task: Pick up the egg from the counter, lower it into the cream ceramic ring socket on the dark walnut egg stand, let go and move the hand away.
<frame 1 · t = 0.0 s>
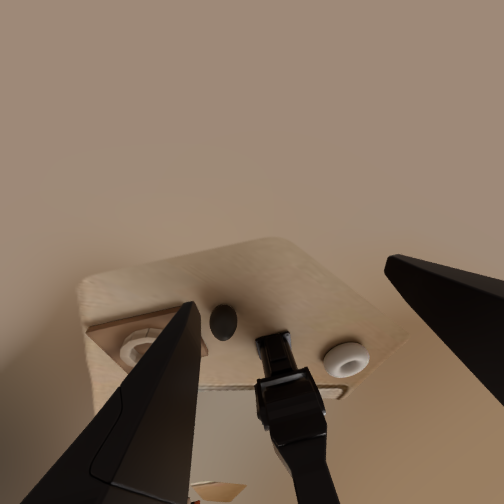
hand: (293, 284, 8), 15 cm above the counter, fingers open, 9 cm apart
bottle: (164, 500, 86), on the counter
egg stand: (155, 339, 30), on the counter
donut: (341, 352, 42), on the counter
egg: (223, 309, 29), on the counter
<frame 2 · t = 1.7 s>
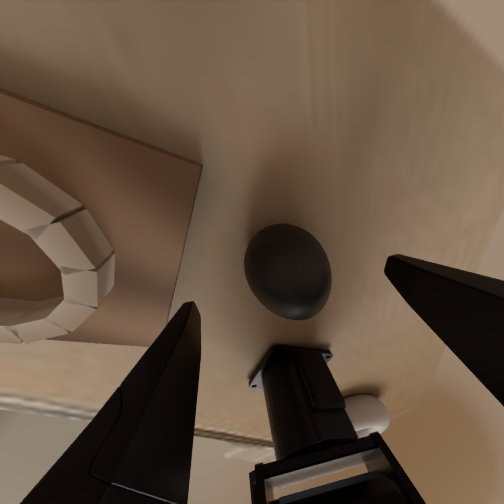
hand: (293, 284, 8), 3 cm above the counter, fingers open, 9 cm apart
egg stand: (25, 240, 9), on the counter
donut: (344, 404, 28), on the counter
egg: (273, 245, 11), on the counter
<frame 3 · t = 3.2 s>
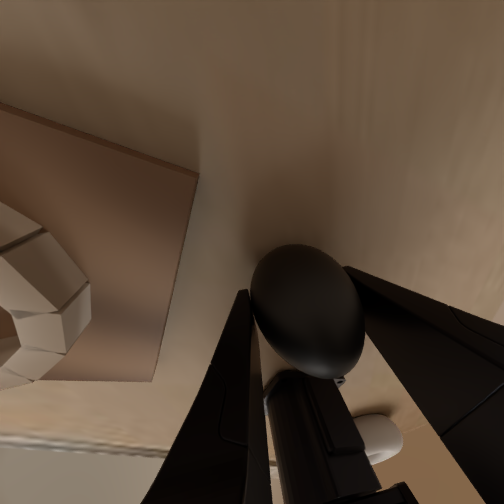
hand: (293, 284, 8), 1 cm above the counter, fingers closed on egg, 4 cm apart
donut: (353, 423, 26), on the counter
egg: (284, 266, 10), on the counter, touching gripper
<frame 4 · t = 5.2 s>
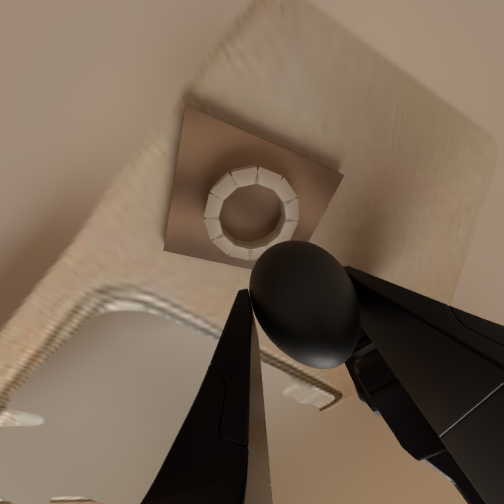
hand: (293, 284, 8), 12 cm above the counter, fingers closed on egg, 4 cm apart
egg stand: (249, 210, 18), on the counter
egg: (282, 263, 10), point 10 cm above the counter, touching gripper
when the fingers open (3 cm above the counter, at t = 7.5 s): egg stays where it is, resting on egg stand.
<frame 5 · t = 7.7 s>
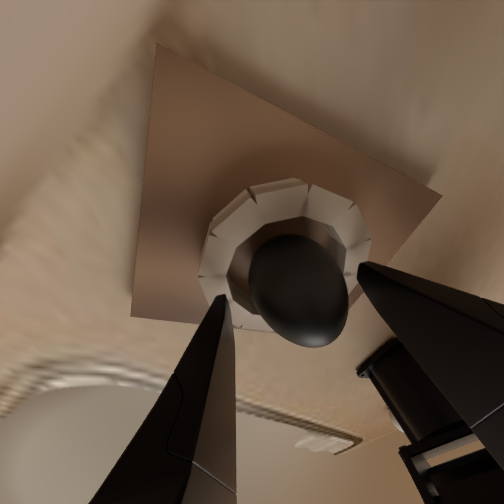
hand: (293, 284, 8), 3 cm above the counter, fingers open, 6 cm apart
egg stand: (274, 249, 11), on the counter
egg: (279, 256, 10), point 1 cm above the counter, touching egg stand
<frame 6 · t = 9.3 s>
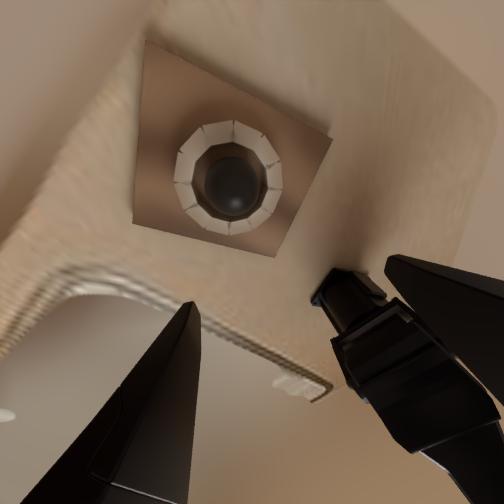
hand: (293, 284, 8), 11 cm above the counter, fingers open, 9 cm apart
egg stand: (229, 180, 16), on the counter
egg: (230, 181, 16), point 1 cm above the counter, touching egg stand
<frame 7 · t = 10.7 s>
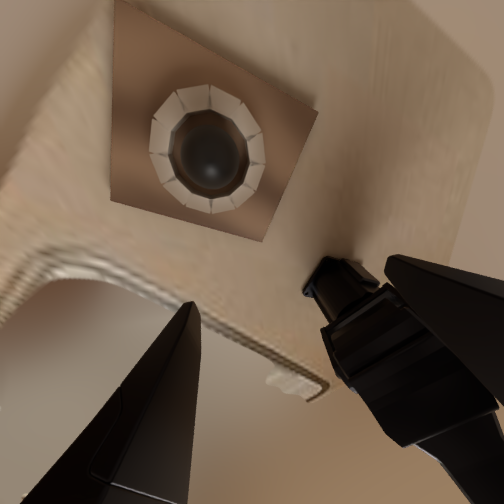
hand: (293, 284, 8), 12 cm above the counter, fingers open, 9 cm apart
egg stand: (211, 157, 16), on the counter
egg: (212, 157, 15), point 1 cm above the counter, touching egg stand
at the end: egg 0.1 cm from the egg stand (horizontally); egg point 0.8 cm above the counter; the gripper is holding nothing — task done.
